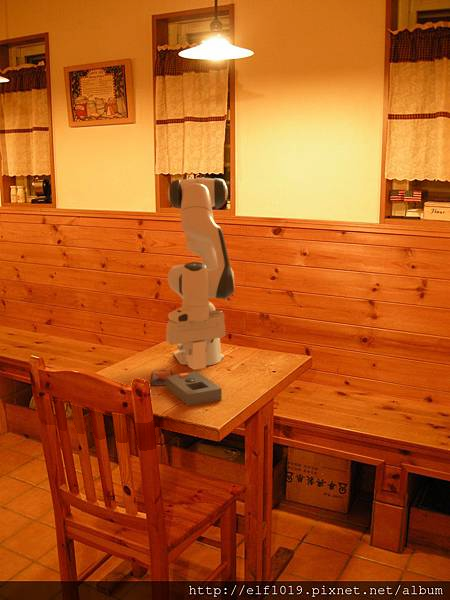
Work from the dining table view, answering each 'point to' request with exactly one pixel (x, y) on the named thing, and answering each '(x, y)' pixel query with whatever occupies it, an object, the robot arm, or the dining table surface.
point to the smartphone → (159, 377)
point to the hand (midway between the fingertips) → (196, 353)
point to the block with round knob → (197, 355)
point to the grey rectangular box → (193, 388)
